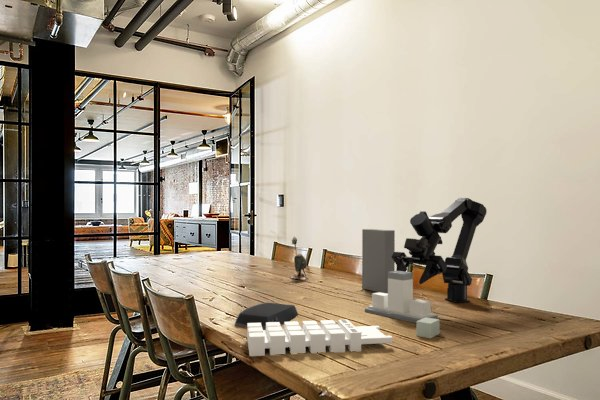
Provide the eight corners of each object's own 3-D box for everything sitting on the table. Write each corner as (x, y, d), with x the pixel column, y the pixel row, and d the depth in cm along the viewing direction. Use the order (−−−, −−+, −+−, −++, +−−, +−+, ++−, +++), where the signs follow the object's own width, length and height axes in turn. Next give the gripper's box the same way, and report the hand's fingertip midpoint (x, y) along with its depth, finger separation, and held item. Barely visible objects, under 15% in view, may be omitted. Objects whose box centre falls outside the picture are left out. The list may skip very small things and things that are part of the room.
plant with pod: (294, 281, 218) (294, 237, 218) (288, 277, 229) (288, 236, 229) (311, 280, 220) (311, 237, 221) (304, 276, 231) (304, 235, 232)
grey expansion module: (397, 307, 155) (397, 270, 156) (412, 310, 151) (412, 272, 151) (387, 309, 152) (387, 272, 152) (403, 312, 148) (403, 274, 148)
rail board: (384, 307, 163) (384, 291, 163) (437, 318, 147) (437, 300, 147) (364, 311, 156) (364, 294, 156) (418, 323, 140) (418, 304, 140)
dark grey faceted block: (232, 326, 139) (232, 312, 139) (264, 312, 156) (264, 300, 156) (271, 331, 133) (271, 316, 133) (300, 316, 151) (300, 304, 151)
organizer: (247, 323, 123) (377, 318, 128) (247, 341, 123) (377, 336, 128) (249, 336, 110) (394, 331, 115) (249, 357, 110) (394, 351, 115)
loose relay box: (425, 331, 132) (425, 317, 132) (439, 334, 130) (439, 319, 130) (416, 336, 128) (416, 321, 128) (430, 338, 125) (430, 323, 125)
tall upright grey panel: (396, 292, 191) (396, 230, 191) (385, 294, 187) (385, 230, 187) (372, 287, 202) (372, 228, 202) (361, 289, 199) (361, 229, 199)
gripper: (394, 228, 165) (374, 263, 158) (441, 230, 151) (422, 268, 144) (408, 249, 170) (389, 283, 163) (455, 253, 156) (436, 291, 149)
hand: (407, 281), depth 154 cm, fingers open, 9 cm apart
